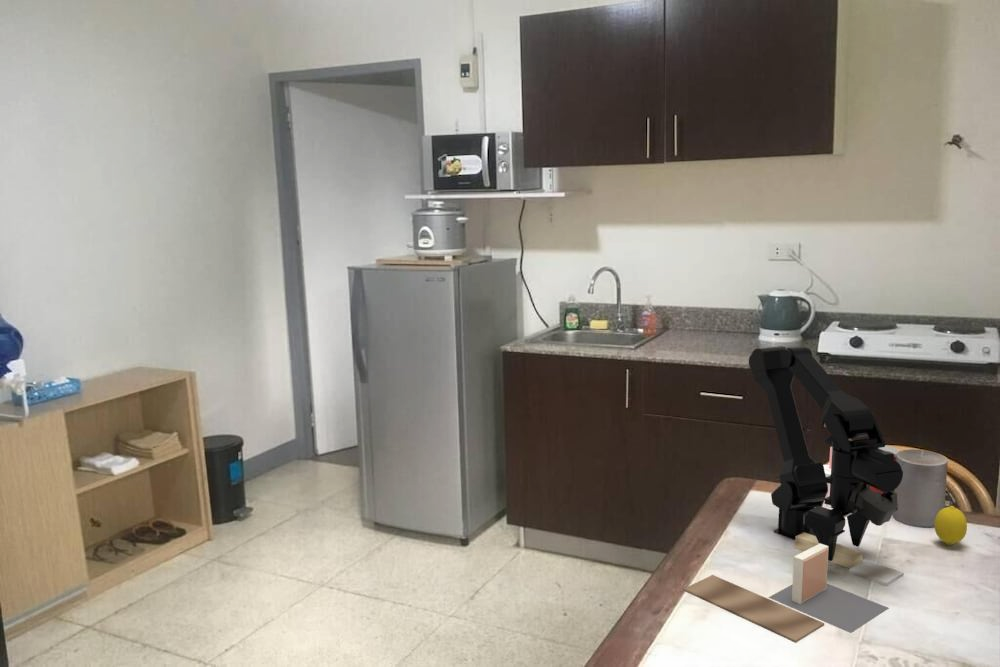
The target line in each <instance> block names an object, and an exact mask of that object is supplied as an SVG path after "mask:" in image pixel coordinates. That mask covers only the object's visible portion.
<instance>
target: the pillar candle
mask: <svg viewBox="0 0 1000 667" xmlns="http://www.w3.org/2000/svg"><path fill="white" fill-rule="evenodd" d="M948 461H949V460H948V458H947V457H946V456H945V455H943V454H941V453H938V452H935V451H931V450H925V449H902V450H900V451H899V452H898V453H897V455H896V462H898V463H899V464H900V466H901V468H902V471H903V477H902V480H901V483H900V484H899V486H898V487H897V488H896V489H895V490H894V492H895V493H897V504H898V506H897V507H898V510H897V511H895V512H894V513H893V515H892V517H893V519H895V520H896V521H898V522H899V523H901V524H904V525H907V526H910V527H914V526H915V527H918V528H922V527H923V528H935V519H936V516H937V514H938V512H939V511H940V510H942V509H944V508H946V492H947V479H948V478H947V476H948V475H947V474H948V464H949V462H948Z"/></svg>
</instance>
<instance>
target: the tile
mask: <svg viewBox="0 0 1000 667" xmlns="http://www.w3.org/2000/svg"><path fill="white" fill-rule="evenodd" d="M828 548H829V546H826V545H823V544H821V543H820V544H818V545H816V546H814V547H812V548H810V549H808V550H806V551H802V552H801V553H798V554H796V555H795V556H793V565H792V566H793V567H792V569H793V570H792V571H793V572H792V584H793V586H792V601H794V602H796V603H799V604H801V603H803V602H805V601H807V600H808V599H810V598H812V597H814V596H815V595H817V594H819V593H821V592H822V591H824V590H826V585H827V584H828V582H827V581H828V579H827V578H828V566H829V564H828V563H829V562H828Z"/></svg>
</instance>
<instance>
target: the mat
mask: <svg viewBox="0 0 1000 667" xmlns="http://www.w3.org/2000/svg"><path fill="white" fill-rule="evenodd" d="M792 586H793V583H792V584H790V585H789V586H787V587H785V588H783V589H781V590H779V591H778V592H775V593H774V594H772V595H770V596H769V597H768V599H770V600H772V601H774V602H777V603H779V604H781V605H784V606H786V607H788V608H791V609H793V610H795V611H797V612H800V613H802V614H804V615H807V616H809V617H811V618H814V619H816V620H818V621H821V622H823V623H826V624H828V625H831V626H833V627H836V628H838V629H841V630H842V631H845V632H848V633H850V634H852V633H854V632H855V631H856V630H858V629H860V628H861V627H862V626H864V625H866V624H867V623H869V622H870V621H872V620H873V619H876V617H879V615H881V614H882V613H884V612H885V611H887V610H889V609H890V608H889V607H888V606H885V605H883V604H880V603H879V602H875V601H873V600H870V599H867V598H866V597H862V596H860V595H857V594H854V593H852V592H850V591H847V590H845V589H842V588H839V587H837V586H835V585H831V584H829V583H827V585H826V590H824V591H822V592H821V593H819V594H817V595H815V596H814V597H812V598H810V599H808V600H807V601H805V602H803V603H801V604H799V603H796V602H794V601H792Z"/></svg>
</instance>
